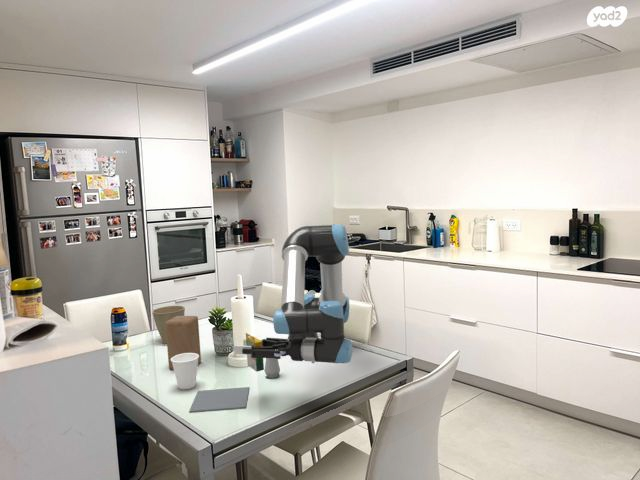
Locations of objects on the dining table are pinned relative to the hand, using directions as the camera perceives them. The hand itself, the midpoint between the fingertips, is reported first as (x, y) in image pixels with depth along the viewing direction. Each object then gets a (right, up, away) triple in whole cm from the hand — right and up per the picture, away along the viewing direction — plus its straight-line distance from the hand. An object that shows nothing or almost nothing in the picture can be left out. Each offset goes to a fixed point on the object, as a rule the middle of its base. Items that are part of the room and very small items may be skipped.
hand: (239, 346), depth 162 cm
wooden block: (-28, -16, +35) cm, 47 cm away
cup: (-21, -18, +13) cm, 31 cm away
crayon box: (+6, -7, -1) cm, 9 cm away
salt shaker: (+9, -16, +19) cm, 27 cm away
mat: (-6, -18, 0) cm, 19 cm away
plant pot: (-45, -13, +70) cm, 84 cm away
